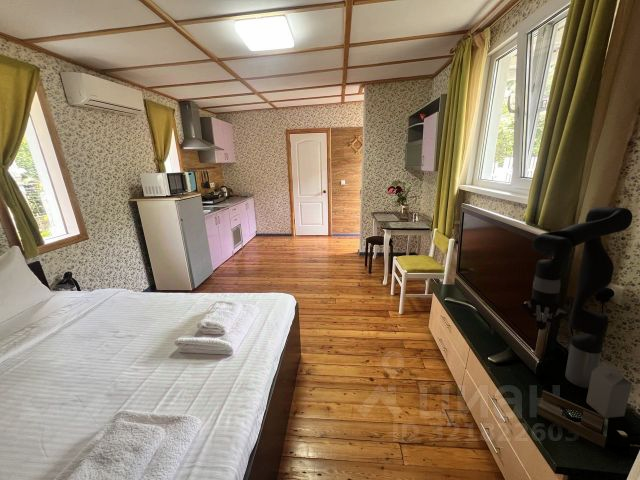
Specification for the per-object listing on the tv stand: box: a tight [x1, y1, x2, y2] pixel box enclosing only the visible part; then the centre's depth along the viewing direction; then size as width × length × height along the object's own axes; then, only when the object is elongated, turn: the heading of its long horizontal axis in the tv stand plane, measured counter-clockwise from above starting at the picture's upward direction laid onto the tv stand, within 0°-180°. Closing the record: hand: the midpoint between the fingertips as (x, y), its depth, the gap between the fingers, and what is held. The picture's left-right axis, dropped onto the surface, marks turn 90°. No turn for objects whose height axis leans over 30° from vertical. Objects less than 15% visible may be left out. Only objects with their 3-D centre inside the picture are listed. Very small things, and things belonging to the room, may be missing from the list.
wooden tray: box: [535, 389, 609, 448], centre depth 97 cm, size 10×18×4 cm, turn 41°
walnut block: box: [580, 411, 604, 434], centre depth 92 cm, size 5×5×4 cm
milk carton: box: [585, 361, 633, 419], centre depth 97 cm, size 7×7×19 cm
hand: (540, 328), depth 100 cm, fingers closed
